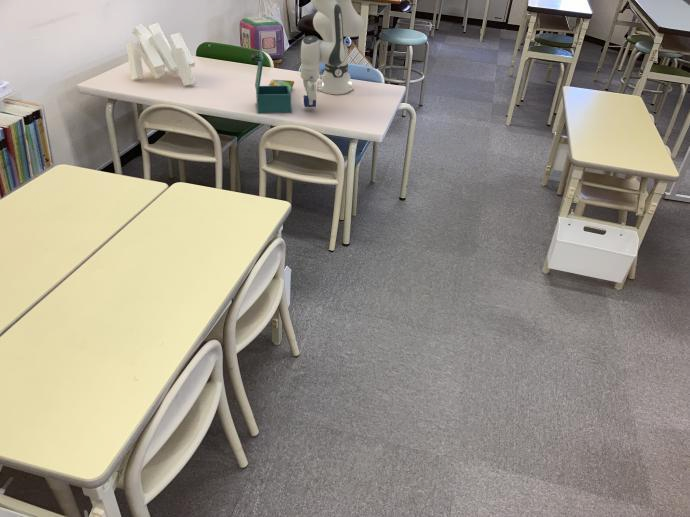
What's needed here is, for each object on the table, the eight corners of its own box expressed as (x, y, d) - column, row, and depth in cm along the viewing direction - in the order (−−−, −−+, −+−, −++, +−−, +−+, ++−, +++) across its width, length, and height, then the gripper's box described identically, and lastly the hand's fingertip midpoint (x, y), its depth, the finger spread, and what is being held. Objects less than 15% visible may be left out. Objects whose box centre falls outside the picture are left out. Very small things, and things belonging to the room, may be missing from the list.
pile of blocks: (208, 85, 304) (189, 19, 297) (193, 80, 275) (172, 7, 268) (149, 101, 307) (129, 36, 299) (128, 98, 278) (104, 26, 270)
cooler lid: (261, 51, 258) (251, 48, 256) (263, 59, 248) (252, 56, 246) (256, 85, 267) (246, 83, 265) (258, 94, 257) (247, 92, 255)
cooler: (288, 103, 275) (288, 85, 270) (291, 112, 265) (290, 94, 260) (256, 103, 272) (255, 85, 267) (258, 113, 262) (257, 95, 257)
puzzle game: (264, 90, 274) (272, 77, 290) (265, 99, 277) (272, 86, 293) (288, 92, 274) (294, 79, 290) (288, 101, 276) (294, 88, 293)
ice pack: (303, 104, 267) (303, 95, 265) (314, 103, 268) (315, 95, 266) (304, 107, 264) (304, 98, 261) (316, 107, 265) (316, 98, 262)
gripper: (320, 81, 249) (319, 110, 258) (313, 66, 265) (313, 94, 274) (306, 81, 248) (306, 111, 257) (300, 66, 264) (300, 94, 272)
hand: (309, 102), depth 265 cm, fingers closed on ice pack, 4 cm apart
